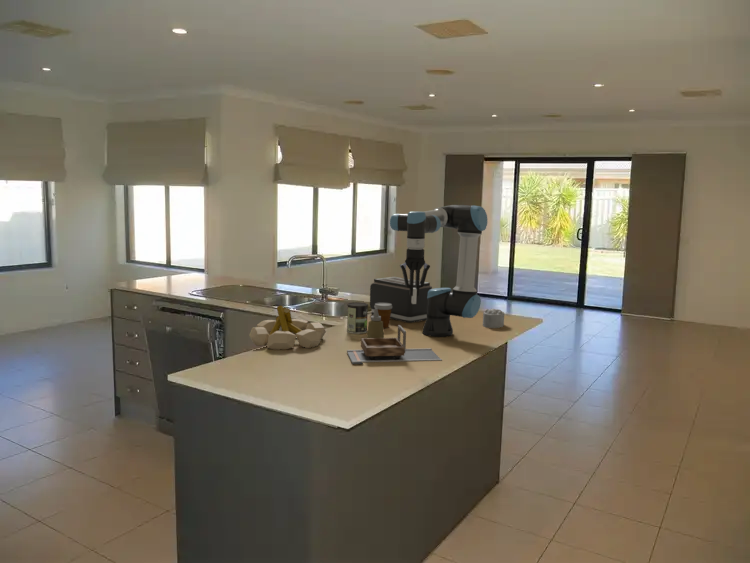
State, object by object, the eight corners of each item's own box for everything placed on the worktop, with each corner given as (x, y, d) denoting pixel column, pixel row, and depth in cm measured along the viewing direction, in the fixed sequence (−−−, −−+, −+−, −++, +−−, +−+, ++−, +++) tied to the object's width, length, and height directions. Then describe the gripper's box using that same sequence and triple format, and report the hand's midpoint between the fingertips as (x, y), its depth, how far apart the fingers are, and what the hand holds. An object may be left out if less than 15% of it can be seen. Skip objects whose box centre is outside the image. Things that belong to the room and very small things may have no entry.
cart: (398, 350, 277) (399, 324, 275) (406, 360, 261) (407, 332, 259) (360, 350, 274) (361, 324, 272) (366, 361, 258) (366, 333, 256)
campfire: (260, 331, 310) (260, 298, 308) (328, 334, 309) (328, 300, 307) (243, 350, 276) (243, 312, 273) (319, 352, 275) (320, 314, 272)
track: (431, 351, 280) (431, 348, 280) (441, 362, 263) (442, 359, 263) (347, 353, 274) (347, 350, 274) (352, 364, 256) (352, 361, 256)
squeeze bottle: (371, 350, 280) (372, 310, 277) (363, 345, 287) (364, 307, 284) (387, 348, 283) (388, 309, 281) (378, 344, 290) (379, 306, 288)
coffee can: (369, 330, 319) (369, 302, 316) (364, 334, 309) (365, 306, 306) (349, 328, 321) (350, 301, 318) (344, 333, 311) (345, 305, 308)
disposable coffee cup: (370, 327, 324) (371, 304, 322) (377, 323, 333) (378, 301, 331) (387, 329, 321) (388, 306, 319) (394, 325, 329) (395, 303, 328)
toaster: (389, 309, 374) (390, 275, 371) (433, 319, 349) (434, 283, 346) (365, 313, 361) (366, 278, 358) (409, 323, 336) (410, 286, 333)
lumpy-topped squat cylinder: (505, 324, 339) (506, 309, 338) (498, 329, 328) (499, 313, 327) (487, 322, 344) (488, 306, 343) (479, 326, 333) (480, 310, 331)
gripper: (402, 249, 258) (400, 305, 261) (432, 249, 260) (430, 305, 264) (398, 247, 265) (397, 301, 269) (428, 247, 267) (426, 301, 271)
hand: (413, 303), depth 266 cm, fingers closed
